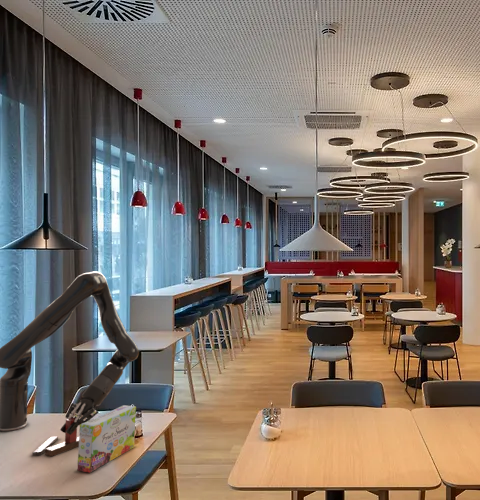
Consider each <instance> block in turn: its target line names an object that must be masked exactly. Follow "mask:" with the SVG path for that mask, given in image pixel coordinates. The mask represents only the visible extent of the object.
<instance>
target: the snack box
mask: <svg viewBox="0 0 480 500" xmlns="http://www.w3.org/2000/svg"><path fill="white" fill-rule="evenodd" d="M136 413H137V406H133V405H125V404H123V405H121V406H119V407H116V408H115V409H112V410H110V411H107V412H105V413H103V414H101V415H98V416H96V417H93V418H91V419H90V420H89V421H87V422H85V423H82V424H80V425H79V432H78V433H79V434H78V437H79V446H78V453H77V455H78V456H77V472H78V471H80V472H83V473H92V472H94V471H96V470H97V469H99V468H100V467H102V466H105V465H106V464H107V463H109V462H111V461H113V460H114V459H116V458H118V457H120V456H121V455H123V454H125V453H127V452H129V451H130V450H132V449H133V448H135V433H136V417H137V416H136V415H137V414H136Z"/></svg>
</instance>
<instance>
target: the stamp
mask: <svg viewBox="0 0 480 500" xmlns="http://www.w3.org/2000/svg"><path fill="white" fill-rule="evenodd" d="M75 419H76V418H74V417H73V418H70V419H67V418H66V419H65V423H66V429H65V433H64V434H65V435H64V441H62V442H61V443H57V444H55V445H54V444H53V445H51V446H50V447H49V448H46V449H45V452H44V455H45V456H47V457H48V456H49V457H54V456H57V455H60V454H62V453H65V452H67V451H70V450H73V449H75V448H77V447H78V448H79V436H78V427H77V428H76V429H75V431H74V432H73V433H72V434H71V435H70V434H68V433H66V430H67V429H68V428H69V427H70V425H71V424H72V423H73V422H74V420H75Z"/></svg>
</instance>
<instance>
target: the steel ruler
mask: <svg viewBox="0 0 480 500" xmlns="http://www.w3.org/2000/svg"><path fill="white" fill-rule="evenodd" d="M57 441H59V436H50V437H49V438H47V439H46V440H45V441H44V442H43V443H41V445H40V446H38V447H37V448H36V449H35V450H34V451H33V452H32V457H33V456H34V457H35V456H41V455H43V454H45V449H46V448H49V447H52V446H54V444H55V443H56V442H57Z"/></svg>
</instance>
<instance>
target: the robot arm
mask: <svg viewBox="0 0 480 500" xmlns="http://www.w3.org/2000/svg"><path fill="white" fill-rule="evenodd" d="M90 297H92V298H93V299H94V301H95V302H96V305H97V308H98V310H99V311H98V312H99V318H100V324H101V327H102V329H103V331H104V334H105V335H106V337H107V340H108V341H109V343H111V344H113V345H114V346H115V347H116V351H114V353H113V355H112V356H111V358H110V359H109V361H108V362H107V364H106V366H104V368H103V369H102V370H101V371H100V373H99V374H98V375H97V376H96V377H95V378H94V379H93V380H92V381H91V383H90V384H89V385H88V386H87V388H86V389H85V390H84V391H83V393H82V394H81V397H82V398H81V399H80V400H78V402H77V403H74V402H72V403H70V405H69V408H68V409H67V412H66V414H65V419H66V420H67V419H70V418H76V419H75V420H74V422H73V423H72V424H71V425H70V427H69V428H68V429H67V430H66V433H68V434H70V435H71V434H72V433H73V432H74V431H75V429H76V428H77V429H78V427H80V424H82V423H85V422H87V421H89V420H92V419H94V418H95V416H96V415H97V414H98V411H97V410H96V407H99V406H101V404H102V403H103V402H104V400H105V399H106V398H107V397H108V395H109V394H110V393H111V391H112V390H113V388H114V387H115V385H116V384H117V382H118V381H119V380H120V378H121V377H122V375H123V374H124V370H125V368H126V367H127V366H128V365H129V363H131V362H135V360H137V359H138V357H139V354H140V350H139V348H138V345H137V344H136V342H135V341H134V340H133V338H132V337H131V336H130V334H129V333H128V331H127V329H126V328H125V325H124V323H123V321H122V319H121V318H120V315H119V313H118V311H117V308H116V306H115V303H114V299H113V297H112V293H111V291H110V288H109V284H108V281H107V278H106V277H105V276H104V274H102V273H101V272H99V271H90V272H89V271H88V272H85V273H82V274H80V275H78V276H77V277H76V278H75V279H74V280H73V281H72V283H71V284H70V285H69V286H68V287H67V288H66V290H65V291H64V292H62V294H61V295H60V296H58V297H57V298H56V299H55V300H54V301H52V302H51V303H50V304H49V305H48V306H47V307H46V308H45V309H43V310H42V311H41V312H40V313H39V314H38V315H36V317H35V318H34V319H32V321H31V322H29V324H27V325H26V326H25V327H24V328H23V329H22V330H21V332H19V333H18V334H17V335H16V336H15V337H13V338H12V339H10V340H9V341H8V342H6V343H5V344H4V345H3V346H0V369H3V370H6V372H5V373H4V374H3V375H2V376H1V377H0V432H9V431H17V430H20V429H22V428H25V427H27V425H28V422H27V421H28V396H29V395H28V393H29V391H28V388H29V377H30V376H31V372H32V364H33V363H32V361H33V351H32V348H33V347H34V346H36V345H38V344H40V343H41V342H43V341H45V340H46V339H49V337H51V336H53V335H54V334H56V332H58V331H59V330H60V329H61V328H62V327H63V326H65V324H66V323H67V322H68V321H69V320H70V318H71V317H72V315H73V312H74V311H75V309H76V308H77V307H78V306H79V305H81V304H82V303H83V302H84V301H85V300H87V299H88V298H90ZM65 429H66V422H64V423H63V425H62V426H61V427H60V431H61V432H62V433H63V434H65Z"/></svg>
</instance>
